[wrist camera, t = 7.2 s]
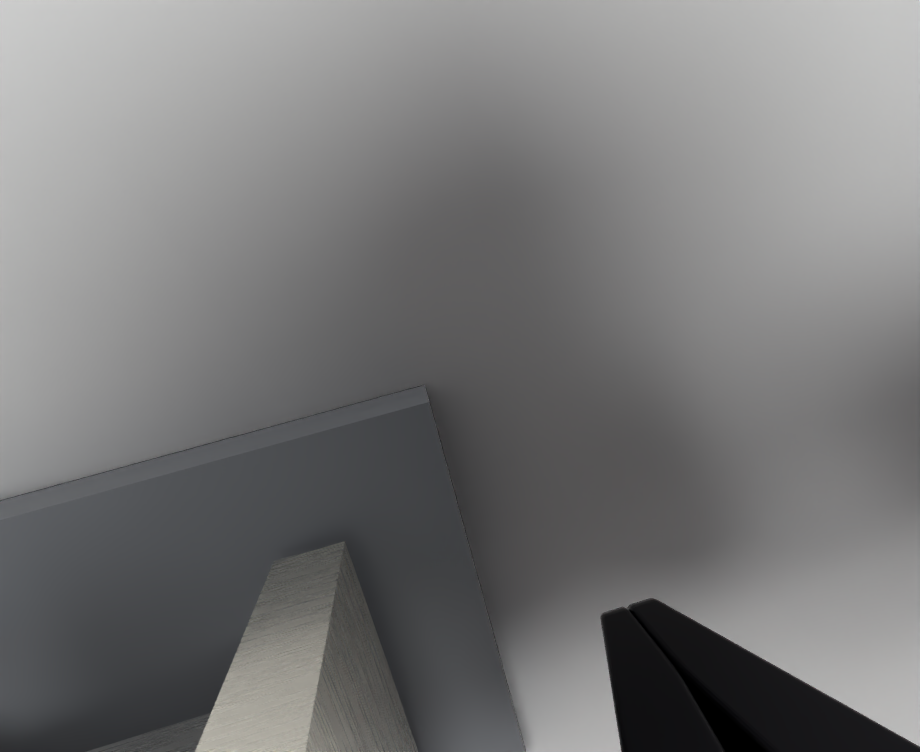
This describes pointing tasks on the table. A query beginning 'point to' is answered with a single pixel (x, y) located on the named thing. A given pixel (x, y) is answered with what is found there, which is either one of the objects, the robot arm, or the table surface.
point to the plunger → (299, 673)
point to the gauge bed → (242, 580)
